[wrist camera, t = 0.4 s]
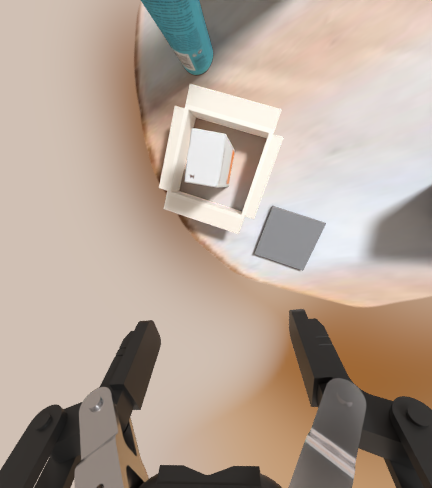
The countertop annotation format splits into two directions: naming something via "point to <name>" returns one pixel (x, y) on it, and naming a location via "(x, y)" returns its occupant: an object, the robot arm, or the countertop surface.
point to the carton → (230, 115)
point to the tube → (184, 31)
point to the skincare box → (209, 159)
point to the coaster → (289, 238)
